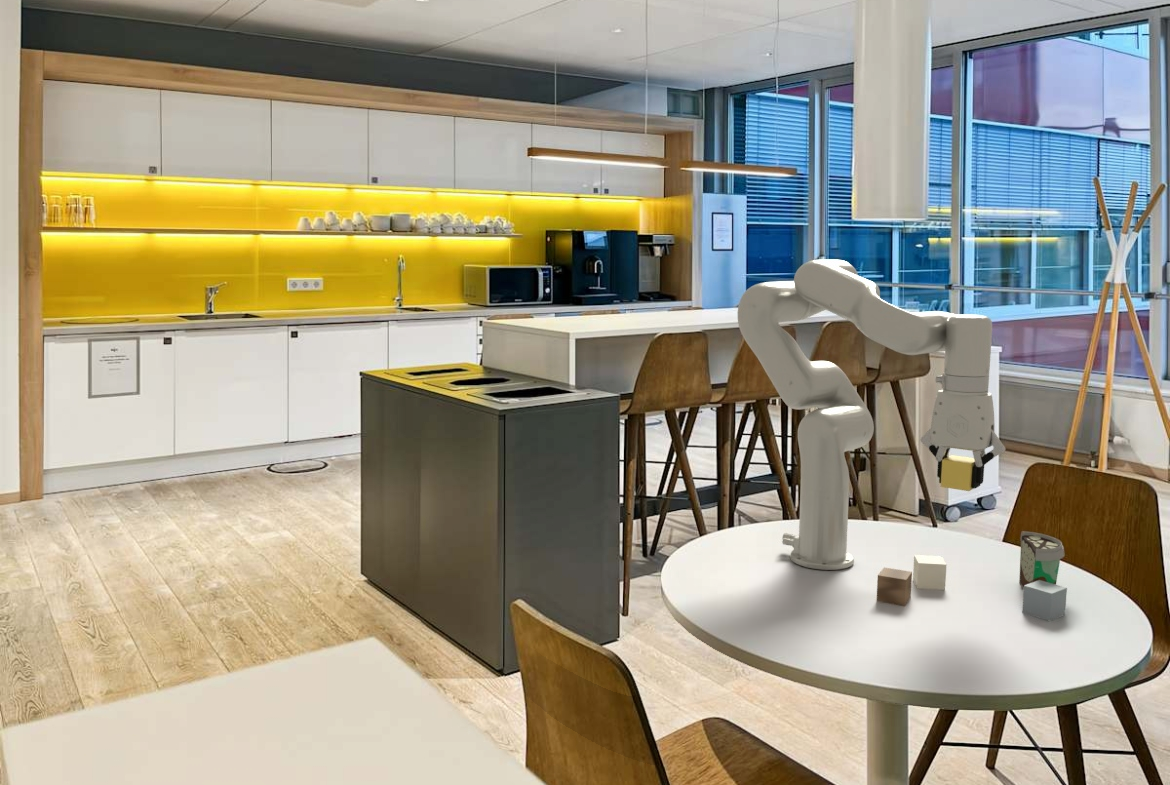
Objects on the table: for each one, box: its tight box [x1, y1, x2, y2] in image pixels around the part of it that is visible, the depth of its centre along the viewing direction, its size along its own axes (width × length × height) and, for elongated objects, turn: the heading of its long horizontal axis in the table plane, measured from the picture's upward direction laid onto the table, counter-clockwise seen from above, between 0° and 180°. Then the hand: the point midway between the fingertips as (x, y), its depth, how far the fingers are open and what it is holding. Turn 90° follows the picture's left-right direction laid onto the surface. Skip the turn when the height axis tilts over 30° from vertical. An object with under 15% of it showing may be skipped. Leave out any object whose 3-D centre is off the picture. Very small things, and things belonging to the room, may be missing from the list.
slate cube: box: [1021, 580, 1068, 622], centre depth 172 cm, size 5×5×5 cm
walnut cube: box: [876, 567, 913, 607], centre depth 179 cm, size 5×5×5 cm
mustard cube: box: [940, 454, 975, 492], centre depth 177 cm, size 5×5×5 cm
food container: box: [1018, 531, 1066, 591], centre depth 182 cm, size 12×6×10 cm, turn 168°
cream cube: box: [912, 554, 947, 591], centre depth 187 cm, size 5×5×5 cm
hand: (959, 483), depth 177 cm, fingers closed on mustard cube, 5 cm apart
